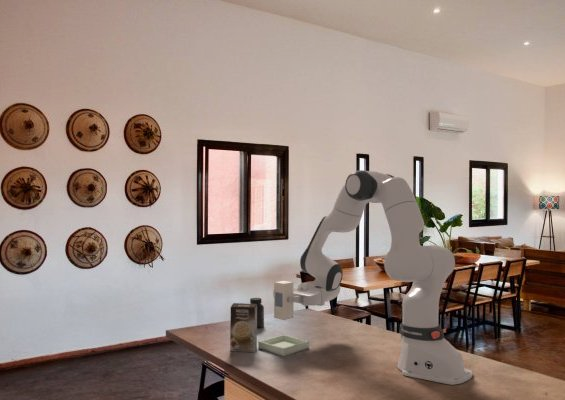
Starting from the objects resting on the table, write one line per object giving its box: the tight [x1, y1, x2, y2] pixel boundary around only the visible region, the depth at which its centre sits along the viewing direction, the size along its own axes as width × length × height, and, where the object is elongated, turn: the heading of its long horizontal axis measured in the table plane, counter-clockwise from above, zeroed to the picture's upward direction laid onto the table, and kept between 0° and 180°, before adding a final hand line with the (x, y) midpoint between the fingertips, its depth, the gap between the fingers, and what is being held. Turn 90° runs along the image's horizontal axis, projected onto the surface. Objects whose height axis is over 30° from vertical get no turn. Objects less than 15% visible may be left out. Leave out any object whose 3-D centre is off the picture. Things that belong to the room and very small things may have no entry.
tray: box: [257, 334, 310, 357], centre depth 177 cm, size 13×13×2 cm
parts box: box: [273, 280, 294, 321], centre depth 177 cm, size 5×5×13 cm
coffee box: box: [229, 302, 258, 353], centre depth 176 cm, size 9×6×16 cm
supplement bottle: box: [249, 297, 265, 329], centre depth 208 cm, size 7×7×12 cm
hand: (282, 298), depth 177 cm, fingers closed on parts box, 5 cm apart
